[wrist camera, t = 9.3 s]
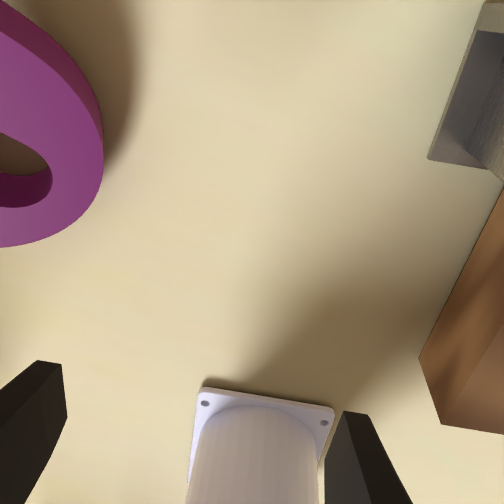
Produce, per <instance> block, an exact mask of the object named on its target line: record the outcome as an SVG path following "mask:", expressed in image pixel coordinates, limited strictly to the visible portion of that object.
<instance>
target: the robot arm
mask: <svg viewBox="0 0 504 504" xmlns="http://www.w3.org/2000/svg"><path fill="white" fill-rule="evenodd" d="M204 400H206V401H204ZM334 419H335V413H334V410H333V409H332V408H330V407H326V406H320V405H314V404H308V403H302V402H296V401H290V400H284V399H278V398H272V397H266V396H260V395H254V394H248V393H242V392H235V391H229V390H223V389H217V388H211V387H202V388H200V389H199V391H198V395H197V404H196V412H195V421H194V429H193V438H192V446H191V455H190V464H189V472H188V483H189V486H188V490H187V495H186V500H185V504H319V492H318V475H317V464H318V461H319V459H320V456H321V453H322V451H323V448H324V445H325V443H326V440H327V437H328V435H329V432H330V429H331V427H332V424H333V421H334ZM66 420H67V409H66V400H65V392H64V383H63V375H62V366H61V364H58V363H52V362H46V361H40V360H37V361H35V362H34V363H32V364H31V365H30V366H29V367H28V368H26V369H25V370H24V371H23V372H21V373H20V374H19V375H18V376H16V377H15V378H14V379H13V380H12V381H10V382H9V383H8V384H7V385H5V386H4V387H3V388H2V389H1V390H0V504H25V502H26V500H27V498H28V497H29V495H30V493H31V491H32V490H33V488H34V486H35V484H36V482H37V481H38V479H39V477H40V475H41V473H42V472H43V470H44V468H45V466H46V465H47V463H48V461H49V459H50V457H51V455H52V453H53V450H54V448H55V446H56V444H57V441H58V439H59V437H60V434H61V432H62V429H63V427H64V425H65V422H66ZM324 484H325V504H413V503H412V501H411V499H410V497H409V495H408V494H407V492H406V490H405V488H404V486H403V484H402V483H401V481H400V479H399V477H398V475H397V473H396V471H395V469H394V467H393V465H392V463H391V461H390V459H389V457H388V455H387V453H386V451H385V449H384V447H383V445H382V443H381V441H380V439H379V436H378V434H377V432H376V430H375V428H374V426H373V424H372V421H371V419H370V418H369V416H368V415H367V414H361V413H355V412H348V411H343V413H342V416H341V418H340V421H339V423H338V426H337V429H336V431H335V434H334V436H333V439H332V442H331V444H330V447H329V449H328V452H327V455H326V457H325V466H324Z"/></svg>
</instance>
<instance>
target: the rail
mask: <svg viewBox="0 0 504 504" xmlns="http://www.w3.org/2000/svg"><path fill="white" fill-rule="evenodd" d="M419 361H420V364H421V367H422V370H423V373H424V376H425V379H426V382H427V385H428V388H429V391H430V394H431V396H432V399H433V402H434V405H435V408H436V411H437V414H438V417H439V420H440V423H441V424H442V425H448V426H454V427H460V428H466V429H472V430H478V431H484V432H490V433H497V434H503V435H504V189H503V191H502V193H501V195H500V197H499V199H498V201H497V203H496V205H495V207H494V209H493V211H492V213H491V215H490V217H489V219H488V221H487V223H486V225H485V227H484V229H483V231H482V233H481V235H480V237H479V239H478V241H477V243H476V245H475V247H474V249H473V251H472V253H471V255H470V257H469V259H468V261H467V263H466V265H465V267H464V269H463V271H462V273H461V275H460V277H459V279H458V281H457V283H456V285H455V287H454V289H453V291H452V293H451V295H450V297H449V299H448V301H447V303H446V305H445V307H444V309H443V310H442V312H441V314H440V316H439V318H438V320H437V322H436V324H435V326H434V328H433V330H432V332H431V334H430V336H429V338H428V340H427V342H426V344H425V346H424V348H423V350H422V352H421V354H420V356H419Z"/></svg>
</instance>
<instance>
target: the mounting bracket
mask: <svg viewBox="0 0 504 504" xmlns="http://www.w3.org/2000/svg"><path fill="white" fill-rule="evenodd" d="M0 132H1V133H3V134H5V135H7V136H9V137H11V138H13V139H15V140H17V141H19V142H20V143H22V144H24V145H26V146H28V147H30V148H32V149H33V150H34V151H36V152H37V153H38V154H40V155H41V156H42V157H43V158H44V160H45V161H46V162H47V164H48V165H49V167H47V168H46V169H45V170H43V171H41V172H39V173H36V174H33V175H27V176H15V175H8V174H4V173H1V172H0V248H2V247H12V246H18V245H23V244H27V243H32V242H35V241H38V240H41V239H44V238H47V237H49V236H51V235H54V234H56V233H58V232H60V231H61V230H63V229H65V228H67V227H68V226H69V225H71V224H72V223H74V222H75V221H76V220H77V219H78V218H79V217H81V216H82V215H83V213H84V212H85V211H86V210H87V209H88V208H89V206H90V205H91V203H92V202H93V200H94V198H95V196H96V194H97V192H98V190H99V187H100V184H101V181H102V175H103V125H102V117H101V113H100V109H99V105H98V103H97V100H96V97H95V94H94V92H93V90H92V88H91V86H90V84H89V82H88V81H87V79H86V77H85V76H84V74H83V72H82V71H81V69H80V68H79V67H78V66H77V64H76V63H75V62H74V60H73V59H72V58H71V57H70V55H69V54H68V53H67V52H66V51H65V50H64V49H63V48H62V47H61V46H60V45H59V44H58V43H57V42H56V41H55V40H54V39H53V38H52V37H51V36H50V35H48V34H47V33H46V32H45V31H43V30H42V29H41V28H40V27H38V26H37V25H36V24H34V23H33V22H32V21H30V20H29V19H27V18H26V17H25V16H23V15H22V14H20V13H19V12H18V11H16V10H15V9H13V8H12V7H11V6H9V5H8V4H6V3H5V2H4V1H2V0H0Z"/></svg>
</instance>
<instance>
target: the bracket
mask: <svg viewBox="0 0 504 504" xmlns="http://www.w3.org/2000/svg"><path fill="white" fill-rule="evenodd" d="M427 158H428V159H429V160H433V161H439V162H445V163H451V164H457V165H463V166H469V167H475V168H481V169H487V170H490V171H491V172H492V173H494V174H495V175H496V176H497V177H499V178H500V179H501V180H502V181H503V182H504V3H484V4H483V6H482V9H481V12H480V14H479V17H478V20H477V23H476V25H475V28H474V31H473V34H472V36H471V39H470V42H469V44H468V47H467V50H466V53H465V55H464V58H463V61H462V63H461V66H460V69H459V72H458V74H457V77H456V80H455V82H454V85H453V88H452V91H451V93H450V96H449V99H448V101H447V104H446V107H445V110H444V112H443V115H442V118H441V120H440V123H439V126H438V129H437V131H436V134H435V137H434V139H433V142H432V145H431V148H430V150H429V153H428V156H427Z"/></svg>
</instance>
